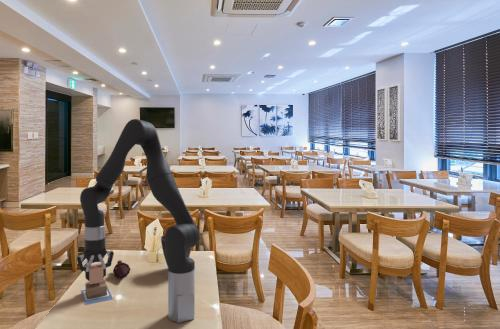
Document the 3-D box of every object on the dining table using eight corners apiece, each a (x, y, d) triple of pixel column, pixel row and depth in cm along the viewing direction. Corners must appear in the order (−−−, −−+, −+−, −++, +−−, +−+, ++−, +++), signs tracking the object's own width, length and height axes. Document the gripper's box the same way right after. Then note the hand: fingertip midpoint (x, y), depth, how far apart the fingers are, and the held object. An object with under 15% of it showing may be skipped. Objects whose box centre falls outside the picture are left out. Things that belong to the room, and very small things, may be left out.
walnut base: (107, 295, 142) (106, 285, 142) (87, 299, 139) (87, 289, 138) (104, 288, 148) (103, 279, 148) (85, 292, 145) (85, 282, 144)
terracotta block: (103, 281, 142) (103, 267, 142) (89, 284, 140) (89, 269, 139) (101, 277, 146) (101, 263, 146) (88, 279, 144) (87, 265, 143)
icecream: (135, 267, 156) (128, 259, 169) (118, 265, 153) (111, 257, 166) (131, 283, 156) (124, 274, 169) (114, 282, 152) (108, 273, 165)
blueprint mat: (113, 300, 139) (113, 298, 139) (84, 306, 134) (84, 304, 134) (107, 286, 151) (106, 285, 151) (80, 291, 146) (80, 290, 146)
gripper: (75, 241, 134) (76, 285, 136) (115, 236, 142) (116, 278, 143) (73, 236, 141) (75, 278, 142) (112, 232, 148) (113, 272, 150)
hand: (95, 278), depth 143 cm, fingers closed on terracotta block, 4 cm apart
